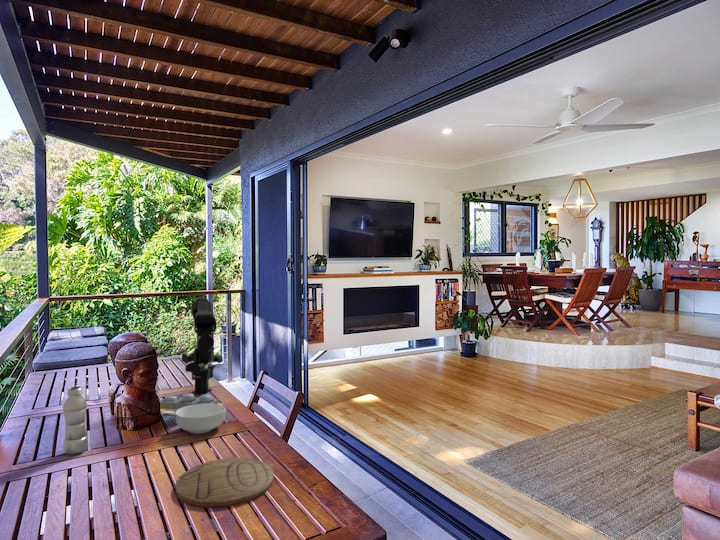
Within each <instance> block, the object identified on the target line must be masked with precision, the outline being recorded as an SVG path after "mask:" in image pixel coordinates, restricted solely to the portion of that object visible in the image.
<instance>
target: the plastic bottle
mask: <svg viewBox="0 0 720 540" xmlns="http://www.w3.org/2000/svg"><path fill="white" fill-rule="evenodd" d="M82 393H83V392H82V386H72V387H68V389H67V396H68V397H67V398H66V399H65V401H64V403H63V405H62V411H63V417H64V424H65V428H64V429H65V430H64V440H63V445H62V448H63V451H64V453H65V454H66V455H78V454H81V453H83V452H85V451H86V449H87V448H88V444H89V442H88V438H87V437H88V436H87V433H86V432H87V431H86V413H87V407H88V404H87V400H86V398H85V397H83V395H82Z"/></svg>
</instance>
